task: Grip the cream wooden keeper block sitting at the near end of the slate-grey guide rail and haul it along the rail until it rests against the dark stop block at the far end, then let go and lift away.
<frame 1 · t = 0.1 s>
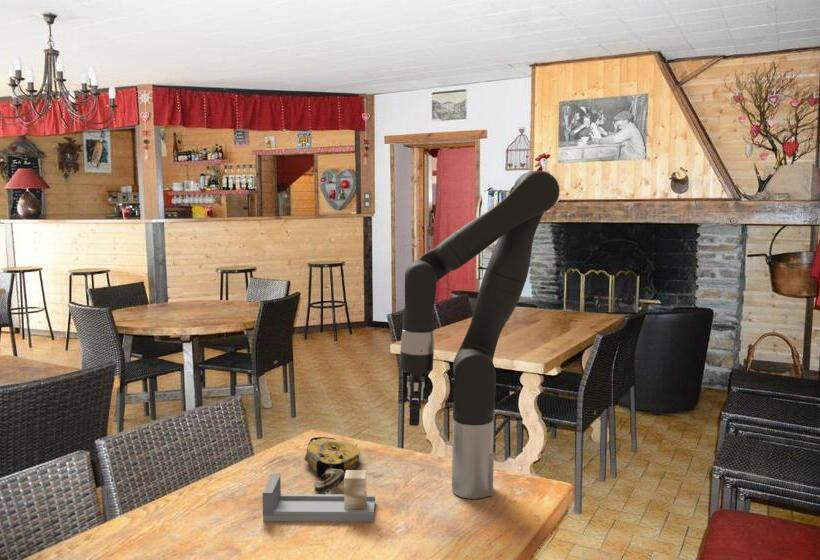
hand: (414, 419, 155), 17 cm above the table, tool pointing down, fingers open, 8 cm apart
pulley block: (330, 473, 168), on the table
keeper: (355, 489, 146), point 5 cm above the table, slide at 0.0 cm
rail: (320, 511, 147), on the table
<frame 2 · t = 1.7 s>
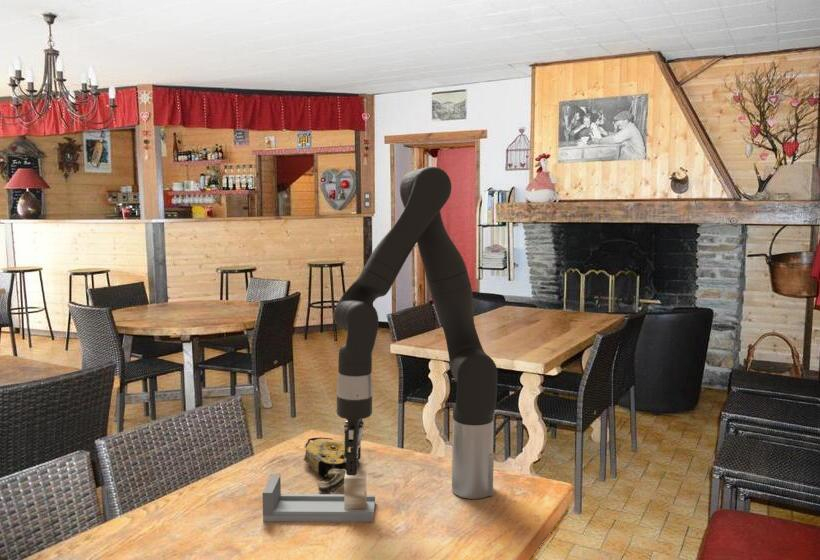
hand: (353, 466, 146), 10 cm above the table, tool pointing down, fingers open, 8 cm apart
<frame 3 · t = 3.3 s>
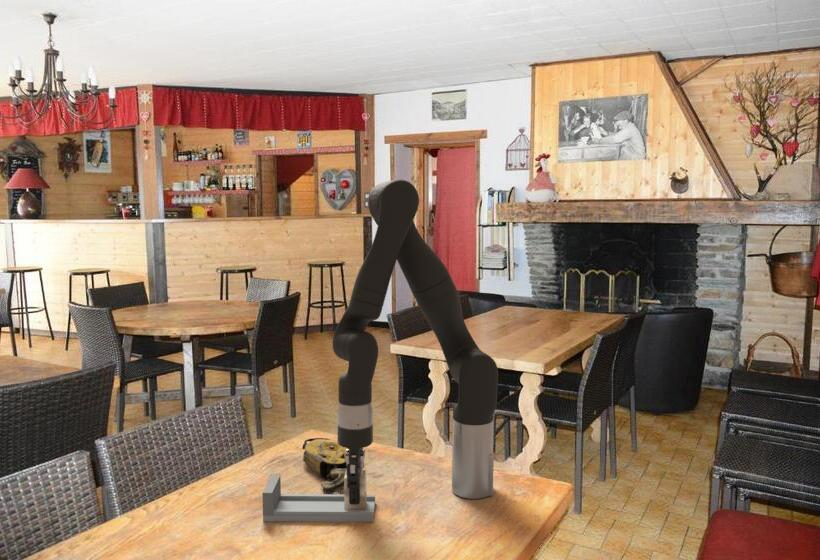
hand: (355, 498, 146), 3 cm above the table, tool pointing down, fingers closed on keeper, 4 cm apart
keeper: (355, 489, 146), point 5 cm above the table, slide at 0.0 cm, touching gripper
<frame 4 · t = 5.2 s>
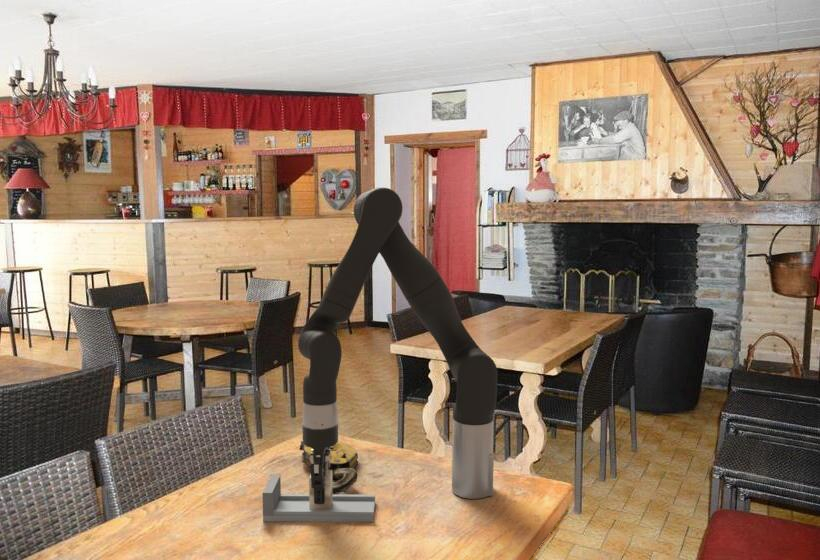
hand: (321, 497, 146), 3 cm above the table, tool pointing down, fingers closed on keeper, 4 cm apart
keeper: (321, 489, 146), point 5 cm above the table, slide at 7.4 cm, touching gripper
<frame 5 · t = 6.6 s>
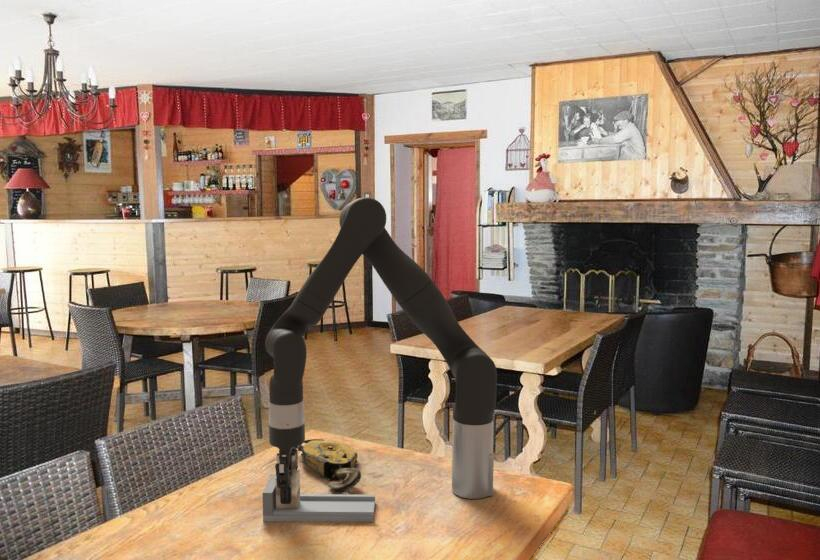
hand: (288, 497, 146), 3 cm above the table, tool pointing down, fingers closed on keeper, 4 cm apart
keeper: (287, 489, 146), point 5 cm above the table, slide at 14.5 cm, touching gripper
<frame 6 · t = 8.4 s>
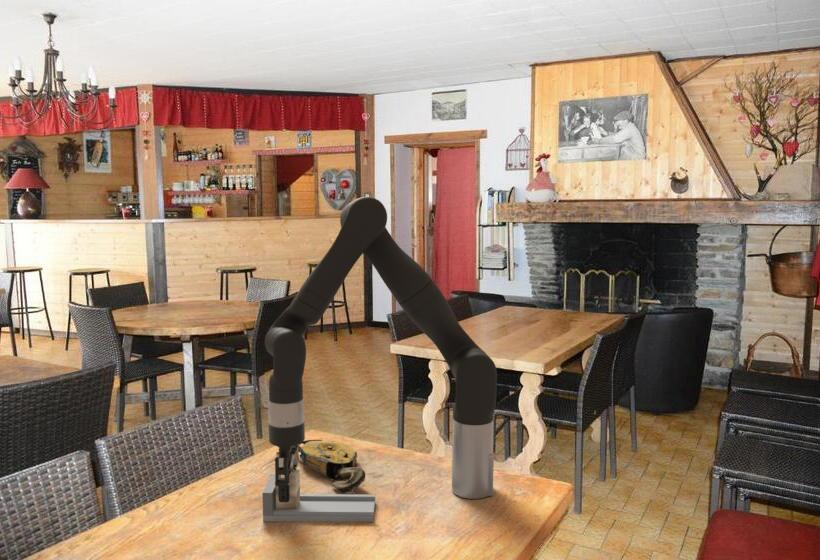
hand: (288, 492, 146), 4 cm above the table, tool pointing down, fingers open, 8 cm apart
keeper: (287, 489, 146), point 5 cm above the table, slide at 14.5 cm
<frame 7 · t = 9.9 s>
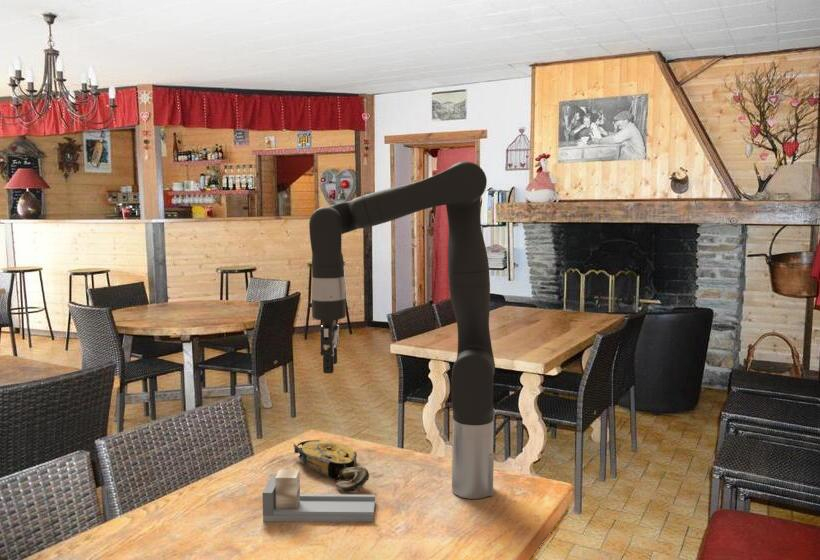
hand: (330, 368, 153), 29 cm above the table, tool pointing down, fingers open, 8 cm apart
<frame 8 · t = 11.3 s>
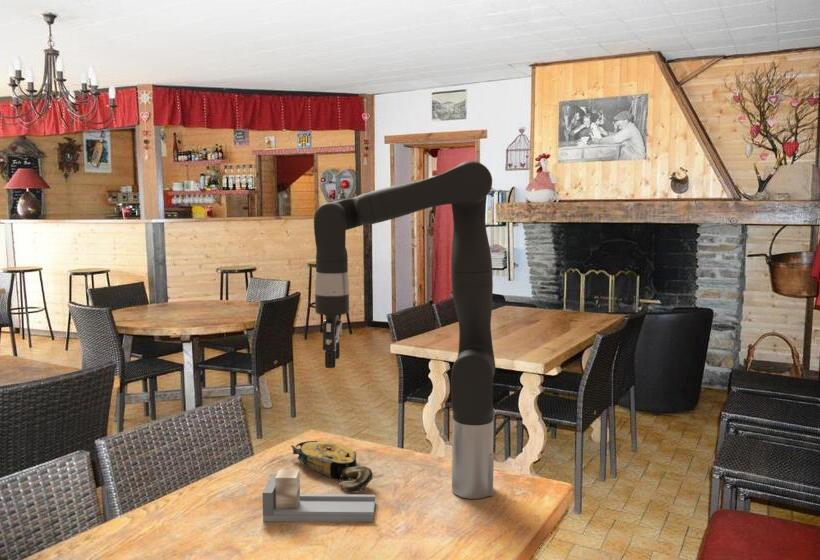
hand: (332, 362, 154), 30 cm above the table, tool pointing down, fingers open, 8 cm apart
at the end: keeper slide at 14.5 cm; the gripper is holding nothing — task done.
